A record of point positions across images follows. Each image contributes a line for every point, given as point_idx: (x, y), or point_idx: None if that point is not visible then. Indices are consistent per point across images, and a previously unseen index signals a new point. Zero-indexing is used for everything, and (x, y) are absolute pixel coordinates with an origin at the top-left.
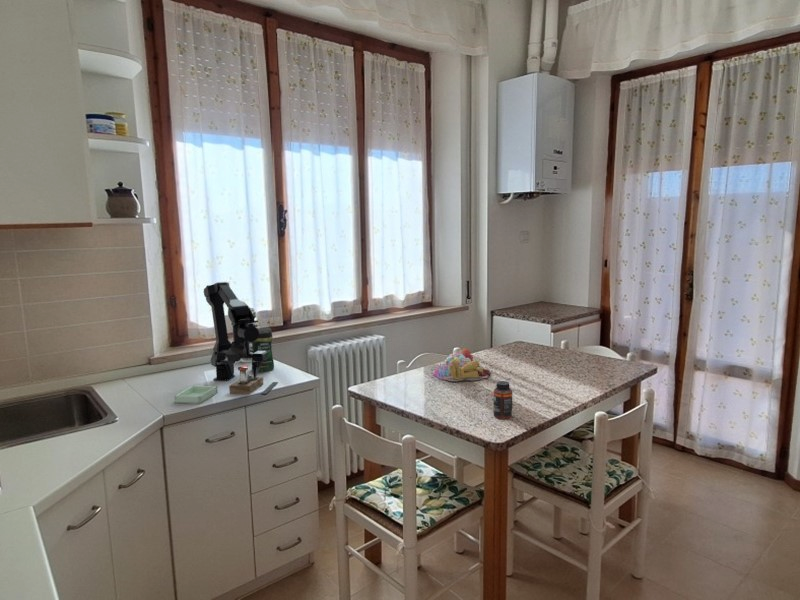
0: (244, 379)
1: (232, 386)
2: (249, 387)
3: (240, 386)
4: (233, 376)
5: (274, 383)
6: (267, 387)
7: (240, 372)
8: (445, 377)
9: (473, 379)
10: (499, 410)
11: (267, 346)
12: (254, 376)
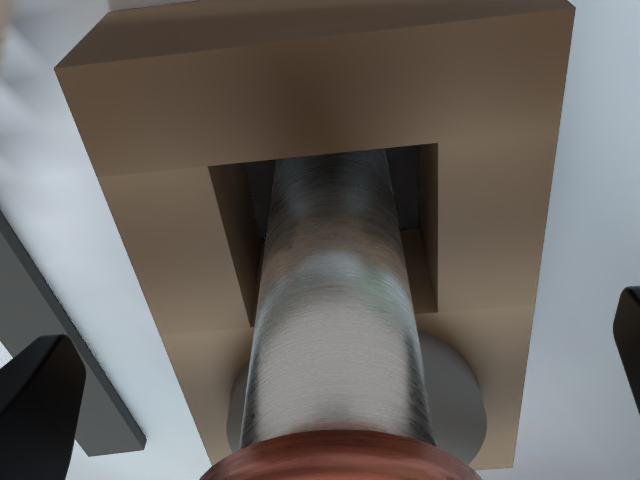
0: (282, 263)
1: (486, 13)
2: (66, 65)
3: (276, 40)
4: (613, 327)
5: (87, 420)
6: (45, 301)
7: (380, 390)
8: None
9: None
10: None
11: None
12: (27, 353)
